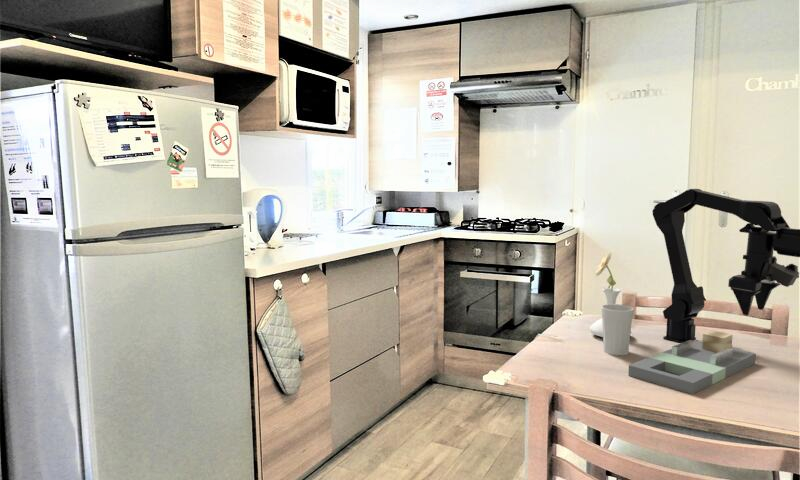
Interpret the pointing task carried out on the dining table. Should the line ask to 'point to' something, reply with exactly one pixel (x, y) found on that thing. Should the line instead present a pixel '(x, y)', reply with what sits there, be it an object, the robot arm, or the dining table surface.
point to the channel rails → (714, 358)
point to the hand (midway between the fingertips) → (753, 312)
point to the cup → (616, 328)
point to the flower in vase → (609, 292)
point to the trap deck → (689, 368)
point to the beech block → (716, 341)
